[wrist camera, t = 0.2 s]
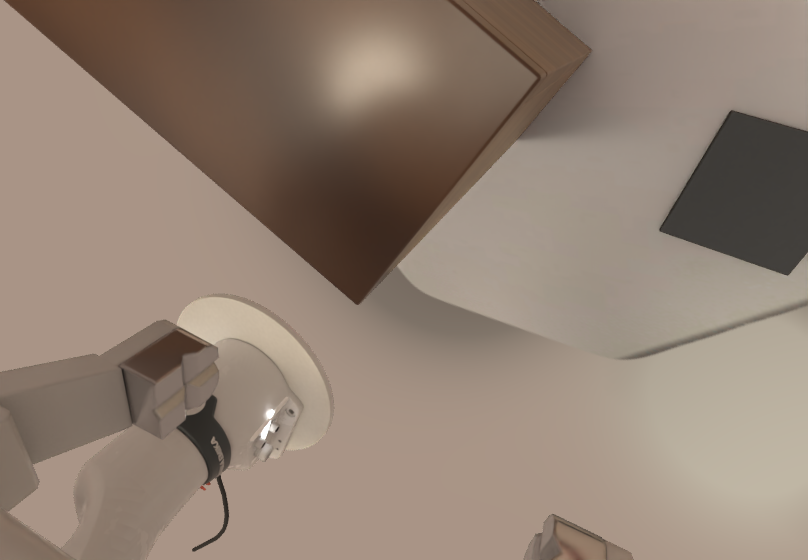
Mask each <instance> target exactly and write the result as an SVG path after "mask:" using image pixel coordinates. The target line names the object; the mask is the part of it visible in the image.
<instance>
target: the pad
mask: <svg viewBox="0 0 808 560" xmlns="http://www.w3.org/2000/svg"><path fill="white" fill-rule="evenodd" d="M660 232H663V233H666V234H669V235H672V236H675V237H678V238H681V239H684V240H686V241H689V242H692V243H695V244H698V245H701V246H704V247H707V248H709V249H712V250H715V251H718V252H721V253H724V254H727V255H730V256H733V257H735V258H738V259H741V260H744V261H747V262H750V263H753V264H756V265H758V266H761V267H764V268H767V269H770V270H773V271H776V272H779V273H782V274H784V275H789V274H790V273H791V271H792V270H793V269H794V268H795V267H796V265H797V264H798V263H799V262H800V261H801V259H802V258H803V257H804V256H805V255H806V253H807V252H808V132H807V131H803V130H799V129H796V128H792V127H789V126H785V125H782V124H778V123H774V122H771V121H767V120H764V119H760V118H756V117H753V116H749V115H746V114H742V113H739V112H735V111H731V112H730V113H729V115H728V117H727V118H726V120H725V122H724V123H723V125H722V127H721V128H720V130H719V131H718V133H717V135H716V136H715V138H714V140H713V141H712V143H711V145H710V146H709V148H708V150H707V151H706V153H705V155H704V156H703V158H702V160H701V161H700V163H699V165H698V166H697V168H696V170H695V171H694V173H693V175H692V176H691V178H690V180H689V181H688V183H687V185H686V186H685V188H684V190H683V191H682V193H681V195H680V196H679V198H678V200H677V201H676V203H675V205H674V206H673V208H672V210H671V211H670V213H669V215H668V216H667V218H666V220H665V221H664V223H663V225H662V226H661V228H660Z"/></svg>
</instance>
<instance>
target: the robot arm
mask: <svg viewBox="0 0 808 560" xmlns="http://www.w3.org/2000/svg"><path fill="white" fill-rule="evenodd" d="M302 410H303V404H302V402H301V400H300V399H299V398H298V397H297V396H296V395H295V394H294V392H293V391H292V390H291V389H290V388H289V386H288V384H287V382H286V380H285V378H284V376H283V375H282V373H281V372H280V370H279V369H278V367H277V366H276V365H275V364H274V363H273V362H272V361H271V360H270V359H269V358H268V357H267V356H266V355H265V354H264V353H263V352H261V351H260V350H259V349H257V348H255V347H254V346H252V345H250V344H248V343H246V342H243V341H240V340H236V339H223V340H220V341H218V342H216V343H215V344H214V345H213V344H211V343H209V342H207V341H205V340H203V339H201V338H200V337H198V336H196V335H194V334H192V333H190V332H188V331H186V330H185V329H183V328H181V327H179V326H177V325H175V324H173V323H171V322H169V321H167V320H161V321H156V322H155V323H153V324H151V325H150V326H148V327H146V328H145V329H143V330H141V331H140V332H138V333H136V334H135V335H133V336H132V337H130V338H128V339H127V340H125V341H123V342H122V343H120V344H118V345H117V346H115V347H113V348H112V349H110V350H109V351H107V352H105V353H104V354H102V355H100V356H98V355H96V354H90V355H85V356H80V357H75V358H70V359H65V360H59V361H55V362H49V363H44V364H39V365H34V366H29V367H24V368H19V369H14V370H8V371H3V372H0V560H146V559H147V557H148V554H149V552H150V551H151V549H152V547H153V545H154V544H155V542H156V541H157V539H158V537H159V536H160V535H161V533H162V532H163V531H164V529H165V528H166V527H167V526H168V524H169V523H170V522H171V521H172V519H173V518H174V517H175V516H176V514H177V513H178V512H179V511H180V509H181V508H182V507H183V506H184V505H185V504H186V503H187V502H188V500H189V499H190V498H191V497H192V496H193V495H194V494H195V492H196V491H197V490H198V489H199V488H201V489H203V490H206V489H205V488H204V487H203V486H202V485H204V484H206V485H210V481H211V480H213V479H214V478H217V482H218V485H219V488H220V491H221V494H222V499H223V505H224V512H225V518H224V524H223V528H222V530H221V531H220V532H219V533H218V535H216V536H215V537H214V538H212V539H210V540H208V541H206V542H204V543H203V544H201V545H199V546H197V547H195V548H193V549H192V551H196V550H198V549H200V548H202V547H204V546H206V545H208V544H210V543H212V542H214V541H216V540H217V539H218V538H220V536H221V535H222V534H223V533H224V531H225V530H226V527H227V524H228V518H229V512H228V511H229V510H228V503H227V498H226V492H225V489H224V486H223V483H222V480H221V475H220V474H221V473H222V472H223V471H225V470H226V469H233V470H248V469H250V468H251V467H252V466H253V465H254V464H255V463H256V462H257V461H258V460H259V459H260V460H262V461H264V462H265V461H266V460H267V459H268V458H279V457H280V456H281V455H282V454H283V453H284V451H285V448H286V446H287V444H288V442H289V439H290V437H291V435H292V433H293V431H294V428H295V426H296V424H297V422H298V419H299V417H300V415H301V413H302ZM132 424H133V425H132ZM126 428H128V429H127V430H125V431H124V432H123V433H122V434H120V435H119V436H118V437H117V438H115V439H114V440H113V441H112V442H110V443H109V444H108V445H107V446H105V447H104V448H103V449H102V450H100V451H99V452H98V453H97V454H95V455H94V456H93V457H92V458H90V459H89V460H88V461H87V462H86V463H85V464H84V466H83V467H82V469H81V470H80V472H79V474H78V477H77V478H76V481H75V485H74V503H75V508H76V513H77V516H78V520H79V523H80V524H79V526H78V528H77V529H76V531H75V533H74V534H73V535H72V537H71V538H70V539H69V540H68V542H67V543H66V544H65V545H64V546H63V547H62V548H61V549H60V548H58V547H57V546H56V545H54V544H53V543H51V542H50V541H48V540H47V539H46V538H44V537H43V536H41V535H40V534H38V533H37V532H35V531H34V530H33V529H31V528H30V527H28V526H27V525H25V524H24V523H23V522H21V521H20V520H18V519H17V518H15V517H14V516H12V515H11V514H9V513H8V511H10V510H11V509H12V508H13V507H15V506H16V505H17V504H18V503H20V502H21V501H22V500H23V499H25V498H26V497H27V496H28V495H30V494H31V493H32V492H34V491H35V490H36V489H37V488H38V485H39V479H38V477H37V474H36V472H35V469H34V467H33V464H35V463H38V462H41V461H43V460H46V459H49V458H51V457H54V456H56V455H59V454H62V453H64V452H67V451H69V450H72V449H75V448H77V447H80V446H82V445H85V444H88V443H90V442H93V441H96V440H98V439H101V438H103V437H106V436H109V435H111V434H114V433H116V432H119V431H121V430H124V429H126ZM524 560H634V559H633V557H632V554H631V553H630V552H628V551H627V550H625V549H623V548H621V547H618V546H617V545H614V544H613V543H610V542H608V541H606V540H604V539H602V537H600V536H598V535H595V534H594V533H591V532H590V531H588V530H585V529H583V528H581V527H579V526H577V525H575V524H573V523H571V522H569V521H567V520H565V519H563V518H561V517H559V516H556V515H554V514H552V515H549V516H548V518H547V519H546V520H545V522H544V526H543V532H542V533H538V534H535V536H534V537H533V539H532V540H531V542H530V544H529V546H528V549H527V551H526V554H525V556H524Z"/></svg>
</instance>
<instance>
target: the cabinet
mask: <svg viewBox="0 0 808 560" xmlns="http://www.w3.org/2000/svg"><path fill="white" fill-rule="evenodd" d="M4 1H5V2H7V3H8V4H9V5H10V6H11V7H12V8H14V9H15V10H16V11H17V12H18V13H19V14H20V15H22V16H23V17H24V18H25V19H26V20H27V21H29V22H30V23H31V24H32V25H33V26H34V27H36V28H37V29H38V30H39V31H40V32H41V33H42V34H44V35H45V36H46V37H47V38H48V39H49V40H51V41H52V42H53V43H54V44H55V45H56V46H58V47H59V48H60V49H61V50H62V51H63V52H65V53H66V54H67V55H68V56H69V57H70V58H71V59H73V60H74V61H75V62H76V63H77V64H78V65H80V66H81V67H82V68H83V69H84V70H85V71H86V72H88V73H89V74H90V75H91V76H92V77H93V78H95V79H96V80H97V81H98V82H99V83H100V84H102V85H103V86H104V87H105V88H106V89H107V90H108V91H110V92H111V93H112V94H113V95H115V97H117V98H118V99H119V100H120V101H121V102H122V103H124V104H125V105H126V106H127V107H128V108H129V109H130V110H132V111H133V112H134V113H135V114H136V115H137V116H139V117H140V118H141V119H142V120H143V121H144V122H146V123H147V124H148V125H149V126H150V127H151V128H152V129H154V130H155V131H156V132H157V133H158V134H159V135H161V136H162V137H163V138H164V139H165V140H166V141H168V142H169V143H170V144H171V145H172V146H173V147H175V148H176V149H177V150H178V151H179V152H181V153H182V154H183V155H184V156H185V157H186V158H187V159H188V160H190V161H191V162H192V163H193V164H194V165H195V166H196V167H198V168H199V169H200V170H201V171H202V172H204V173H205V174H206V175H207V176H208V177H209V178H210V179H212V180H213V181H214V182H215V183H216V184H217V185H218V186H220V187H221V188H222V189H223V190H224V191H225V192H227V193H228V194H229V195H230V196H231V197H233V198H234V199H235V200H236V201H237V202H238V203H239V204H240V205H242V206H243V207H244V208H245V209H246V210H247V211H249V212H250V213H251V214H252V215H253V216H254V217H256V218H257V219H258V220H259V221H260V222H261V223H262V224H264V225H265V226H266V227H267V228H268V229H269V230H271V231H272V232H273V233H274V234H275V235H276V236H278V237H279V238H280V239H281V240H282V241H283V242H284V243H286V244H287V245H288V246H289V247H290V248H292V249H293V250H294V251H295V252H296V253H297V254H298V255H300V256H301V257H302V258H303V259H304V260H305V261H306V262H308V263H309V264H310V265H311V266H312V267H313V268H315V269H316V270H317V271H318V272H319V273H320V274H322V275H323V276H324V277H325V278H326V279H327V280H328V281H330V282H331V283H332V284H333V285H334V286H335V287H337V288H338V289H339V290H340V291H341V292H342V293H344V294H345V295H346V296H347V297H348V298H349V299H350V300H352V301H353V302H354V303H355V304H357V305H359V304H360V303H361V302H362V301H363V300H364V299H365V298H366V297H367V296H368V295H369V294H370V293H371V292H372V291H373V290H374V289H375V288H376V287H377V286H378V285H379V284H380V283H381V281H383V280H384V278H385V277H386V276H387V275H388V274H389V273H390V272H391V271H392V270H393V269H394V268H395V267H396V266H397V265H398V264H399V263H400V262H401V261H402V260H403V259H404V258H405V256H406V255H407V254H408V253H409V252H410V251H411V250H412V249H413V248H414V247H415V246H416V245H417V244H418V243H419V242H420V241H421V240H422V239H423V238H424V237H425V236H426V234H427V233H428V232H429V231H430V230H431V229H432V228H433V227H434V226H435V225H436V224H437V223H438V222H439V221H440V220H441V219H442V218H443V217H444V216H445V215H446V214H447V213H448V211H449V210H450V209H451V208H452V207H453V206H454V205H455V204H456V203H457V202H458V201H459V200H460V199H461V198H462V197H463V196H464V195H465V194H466V193H467V192H468V191H469V189H470V188H471V187H472V186H473V185H474V184H475V183H476V182H477V181H478V180H479V179H480V178H481V177H482V176H483V175H484V174H485V173H486V172H487V171H488V170H489V169H490V167H491V166H492V165H493V164H494V163H495V162H496V161H497V160H498V159H499V158H500V157H501V156H502V155H503V154H504V153H505V152H506V151H507V150H508V149H509V148H510V147H511V146H512V144H513V143H514V142H515V141H516V140H517V139H518V138H519V137H520V136H521V134H522V133H523V132H524V131H525V130H526V129H527V127H528V126H529V125H530V124H531V123H532V121H533V120H534V119H535V118H536V117H537V116H538V114H539V113H540V112H541V111H542V110H543V108H544V107H545V106H546V105H547V104H548V103H549V101H550V100H551V99H552V98H553V97H554V95H555V94H556V93H557V92H558V91H559V90H560V88H561V87H562V86H563V85H564V84H565V83H566V81H567V80H568V79H569V78H570V77H571V75H572V74H573V73H574V72H575V71H576V70H577V68H578V67H579V66H580V65H581V64H582V62H583V61H584V60H585V59H586V58H587V57H588V55H589V54H590V53H591V52H592V50H591V49H590V48H589V47H588V46H587V45H585V44H584V43H583V42H582V41H581V40H580V39H578V38H577V37H576V36H575V35H574V34H573V33H571V32H570V31H569V30H568V29H567V28H566V27H565V26H563V25H562V24H561V23H560V22H559V21H558V20H556V19H555V18H554V17H553V16H552V15H551V14H549V13H548V12H547V11H546V10H545V9H544V8H542V7H541V6H540V5H539V4H538V3H537V2H535V1H534V0H4Z"/></svg>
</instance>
